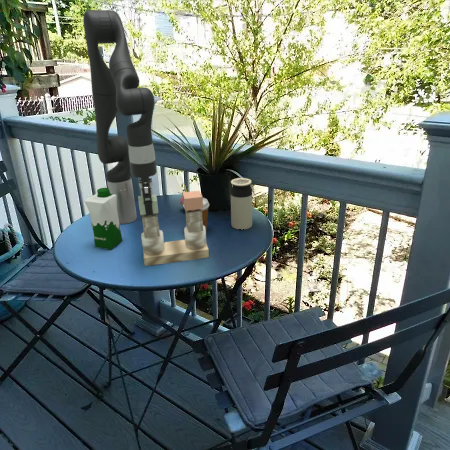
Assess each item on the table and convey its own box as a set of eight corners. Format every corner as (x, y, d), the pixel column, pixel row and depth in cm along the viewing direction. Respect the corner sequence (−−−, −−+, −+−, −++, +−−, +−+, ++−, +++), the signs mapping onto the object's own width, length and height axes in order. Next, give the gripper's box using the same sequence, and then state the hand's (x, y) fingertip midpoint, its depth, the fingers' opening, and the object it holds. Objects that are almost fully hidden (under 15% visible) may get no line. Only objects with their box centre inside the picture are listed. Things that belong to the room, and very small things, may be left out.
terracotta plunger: (187, 230, 129) (184, 198, 124) (185, 223, 134) (182, 192, 129) (204, 228, 130) (202, 196, 125) (201, 221, 135) (199, 190, 130)
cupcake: (184, 216, 163) (182, 188, 157) (178, 208, 170) (175, 181, 164) (204, 212, 166) (202, 184, 160) (197, 204, 173) (195, 178, 167)
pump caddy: (144, 266, 129) (138, 221, 122) (144, 252, 137) (138, 209, 130) (209, 257, 133) (206, 213, 126) (204, 244, 141) (201, 202, 134)
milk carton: (126, 239, 146) (118, 188, 137) (111, 251, 138) (102, 198, 129) (106, 236, 149) (96, 186, 140) (90, 248, 141) (79, 195, 132)
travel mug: (252, 230, 150) (252, 184, 142) (231, 230, 150) (230, 185, 142) (251, 220, 157) (251, 177, 149) (231, 221, 157) (230, 177, 149)
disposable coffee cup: (207, 237, 145) (205, 207, 140) (182, 236, 147) (179, 206, 142) (213, 226, 154) (211, 197, 148) (189, 224, 155) (187, 196, 150)
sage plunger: (143, 235, 126) (138, 202, 121) (142, 227, 131) (138, 196, 126) (160, 232, 127) (157, 200, 122) (159, 225, 132) (156, 194, 127)
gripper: (156, 164, 113) (162, 218, 120) (153, 151, 126) (159, 201, 133) (129, 167, 112) (137, 221, 119) (129, 153, 124) (136, 203, 132)
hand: (149, 210), depth 126 cm, fingers closed on sage plunger, 5 cm apart
